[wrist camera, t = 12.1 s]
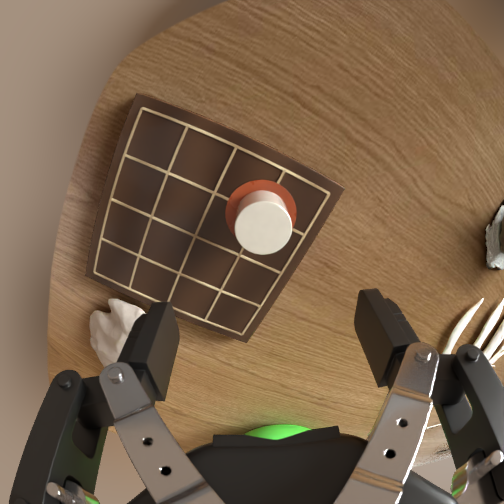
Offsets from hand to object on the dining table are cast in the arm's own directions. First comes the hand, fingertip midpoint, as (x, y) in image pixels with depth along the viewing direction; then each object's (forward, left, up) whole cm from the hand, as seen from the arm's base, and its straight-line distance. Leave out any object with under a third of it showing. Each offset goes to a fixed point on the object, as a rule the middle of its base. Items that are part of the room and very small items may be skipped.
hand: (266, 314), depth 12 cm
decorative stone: (-7, -21, -14) cm, 26 cm away
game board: (-4, -4, -14) cm, 15 cm away
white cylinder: (0, 0, -12) cm, 12 cm away
